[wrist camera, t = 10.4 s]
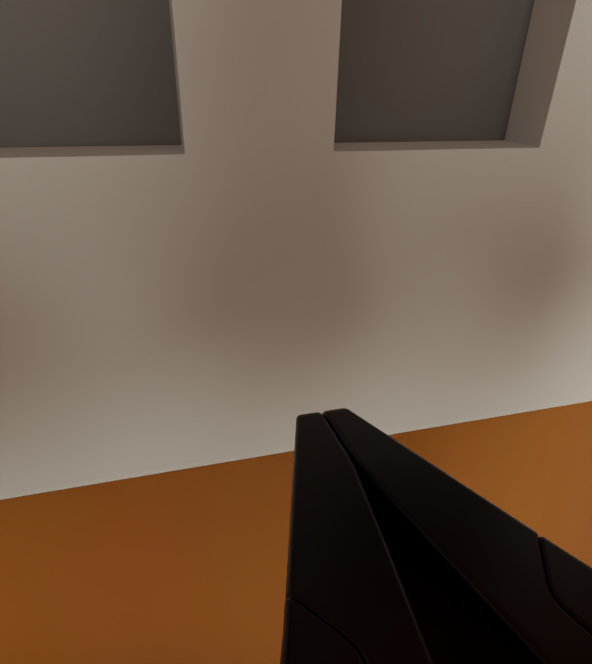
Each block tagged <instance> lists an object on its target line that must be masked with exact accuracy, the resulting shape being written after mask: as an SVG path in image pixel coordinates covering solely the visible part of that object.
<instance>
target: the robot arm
mask: <svg viewBox="0 0 592 664" xmlns="http://www.w3.org/2000/svg"><path fill="white" fill-rule="evenodd" d="M280 664H592V568H591V567H589V566H588V565H586V564H585V563H583V562H581V561H580V560H578V559H577V558H575V557H573V556H572V555H570V554H569V553H567V552H566V551H564V550H563V549H561V548H560V547H558V546H557V545H555V544H553V543H552V542H550V541H549V540H547V539H546V538H544V537H539V538H538V534H537V533H536V532H535V531H533V530H532V529H530V528H529V527H527V526H526V525H524V524H523V523H521V522H520V521H518V520H517V519H515V518H513V517H512V516H510V515H509V514H507V513H506V512H504V511H503V510H501V509H500V508H498V507H497V506H495V505H494V504H492V503H491V502H489V501H488V500H486V499H484V498H483V497H481V496H480V495H478V494H477V493H475V492H474V491H472V490H471V489H469V488H468V487H466V486H465V485H463V484H462V483H460V482H459V481H457V480H456V479H454V478H452V477H451V476H449V475H448V474H446V473H445V472H443V471H442V470H440V469H439V468H437V467H436V466H434V465H433V464H431V463H430V462H428V461H427V460H425V459H424V458H422V457H420V456H419V455H417V454H416V453H414V452H413V451H411V450H410V449H408V448H407V447H405V446H404V445H402V444H401V443H399V442H398V441H396V440H395V439H393V438H391V437H390V436H388V435H387V434H385V433H384V432H382V431H381V430H379V429H378V428H376V427H375V426H373V425H372V424H370V423H369V422H367V421H366V420H364V419H363V418H361V417H359V416H358V415H356V414H355V413H353V412H352V411H350V410H349V409H346V408H340V409H334V410H327V411H324V412H323V413H322V414H321V413H319V412H314V413H308V414H301V415H298V416H297V418H296V429H295V446H294V463H293V480H292V496H291V513H290V530H289V547H288V564H287V581H286V601H285V609H284V625H283V638H282V649H281V659H280Z"/></svg>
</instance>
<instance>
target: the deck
mask: <svg viewBox="0 0 592 664" xmlns="http://www.w3.org/2000/svg"><path fill="white" fill-rule="evenodd" d="M588 401H592V0H0V500H2V499H8V498H14V497H20V496H26V495H32V494H38V493H44V492H50V491H56V490H62V489H68V488H74V487H80V486H85V485H91V484H97V483H103V482H109V481H115V480H121V479H127V478H133V477H139V476H145V475H151V474H157V473H163V472H169V471H175V470H181V469H187V468H193V467H199V466H205V465H211V464H217V463H223V462H229V461H235V460H241V459H247V458H253V457H259V456H265V455H271V454H277V453H283V452H289V451H294V446H295V429H296V418H297V416H298V415H301V414H308V413H314V412H319V413H321V414H322V413H323V412H324V411H327V410H334V409H340V408H346V409H349V410H350V411H352V412H353V413H355V414H356V415H358V416H359V417H361V418H363V419H364V420H366V421H367V422H369V423H370V424H372V425H373V426H375V427H376V428H378V429H379V430H381V431H382V432H384V433H385V434H387V435H390V434H396V433H402V432H408V431H414V430H420V429H426V428H432V427H438V426H444V425H450V424H456V423H462V422H468V421H474V420H480V419H486V418H492V417H498V416H504V415H510V414H516V413H522V412H528V411H534V410H540V409H546V408H552V407H558V406H564V405H570V404H576V403H582V402H588Z"/></svg>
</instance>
